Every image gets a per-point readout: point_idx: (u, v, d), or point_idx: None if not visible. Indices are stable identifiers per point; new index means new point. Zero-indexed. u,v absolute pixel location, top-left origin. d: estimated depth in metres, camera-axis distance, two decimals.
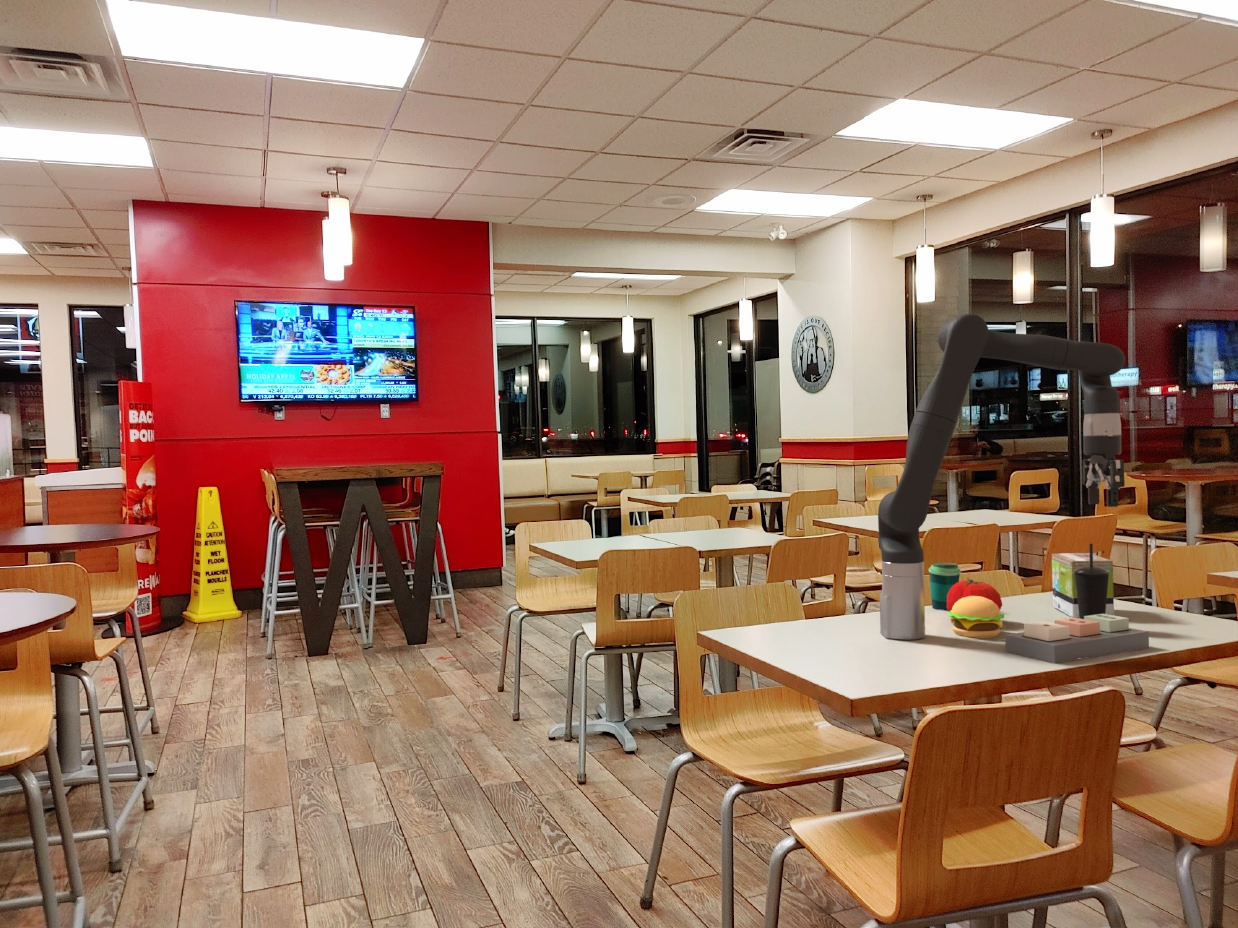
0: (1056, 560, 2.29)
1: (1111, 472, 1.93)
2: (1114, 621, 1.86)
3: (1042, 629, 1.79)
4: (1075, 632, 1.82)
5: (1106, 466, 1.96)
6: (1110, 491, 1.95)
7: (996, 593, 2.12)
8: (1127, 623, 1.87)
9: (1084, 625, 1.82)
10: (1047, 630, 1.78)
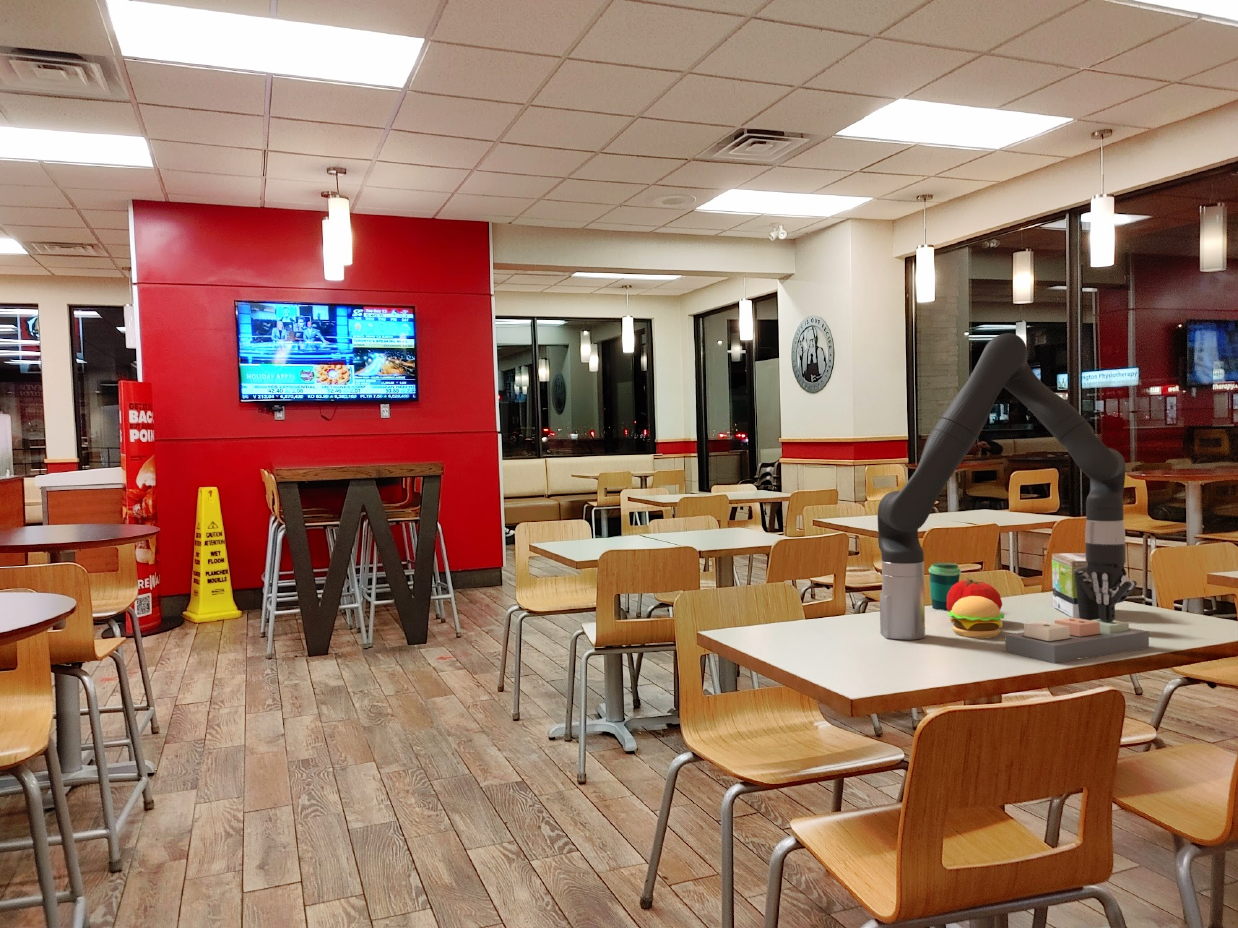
0: (1056, 560, 2.29)
1: None
2: (1114, 626, 1.86)
3: (1042, 629, 1.79)
4: (1075, 632, 1.82)
5: None
6: None
7: (996, 593, 2.12)
8: (1127, 628, 1.87)
9: (1084, 625, 1.82)
10: (1047, 630, 1.78)
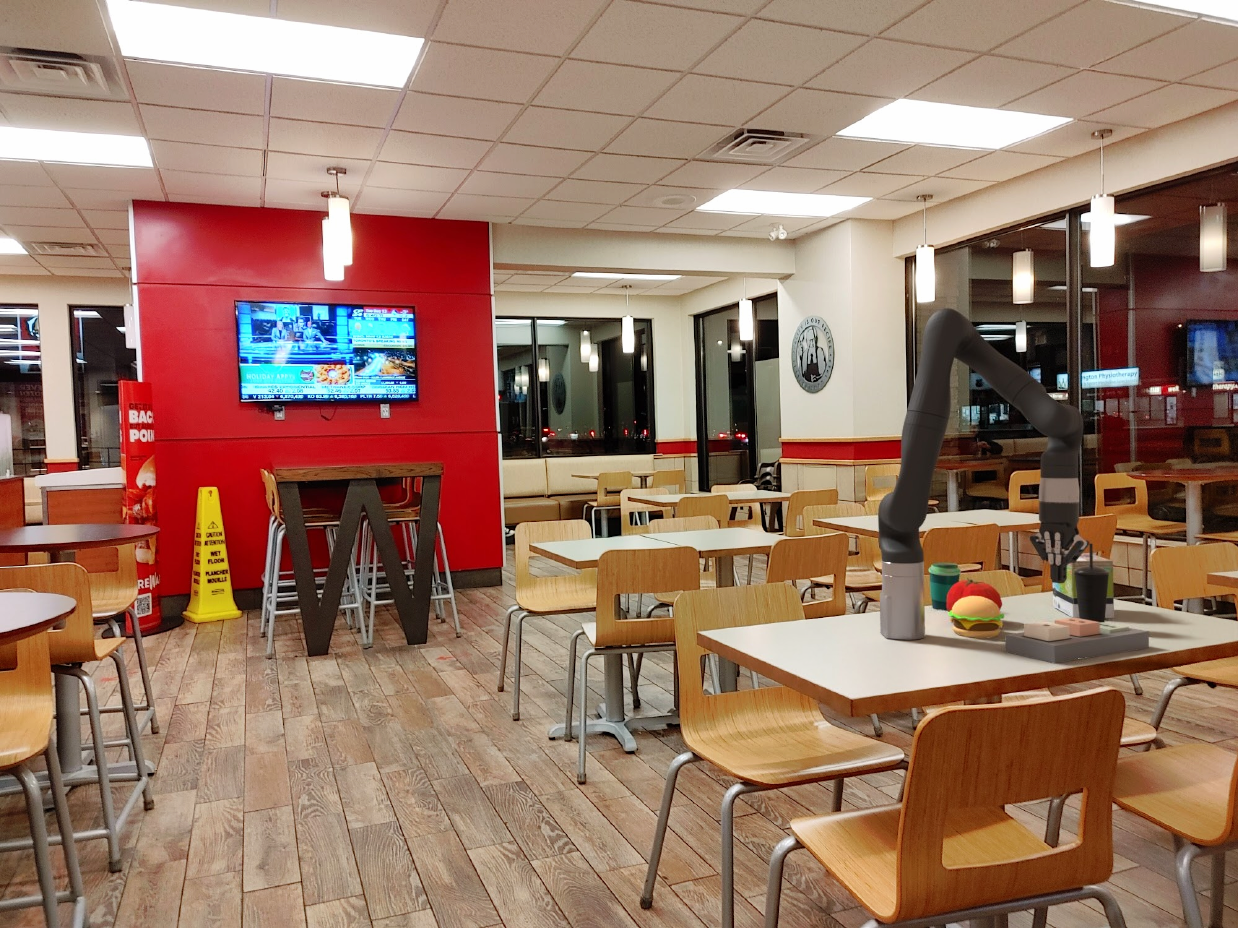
0: None
1: None
2: (1114, 630, 1.86)
3: (1042, 629, 1.79)
4: (1075, 632, 1.82)
5: None
6: None
7: (996, 593, 2.12)
8: None
9: (1084, 625, 1.82)
10: (1047, 630, 1.78)
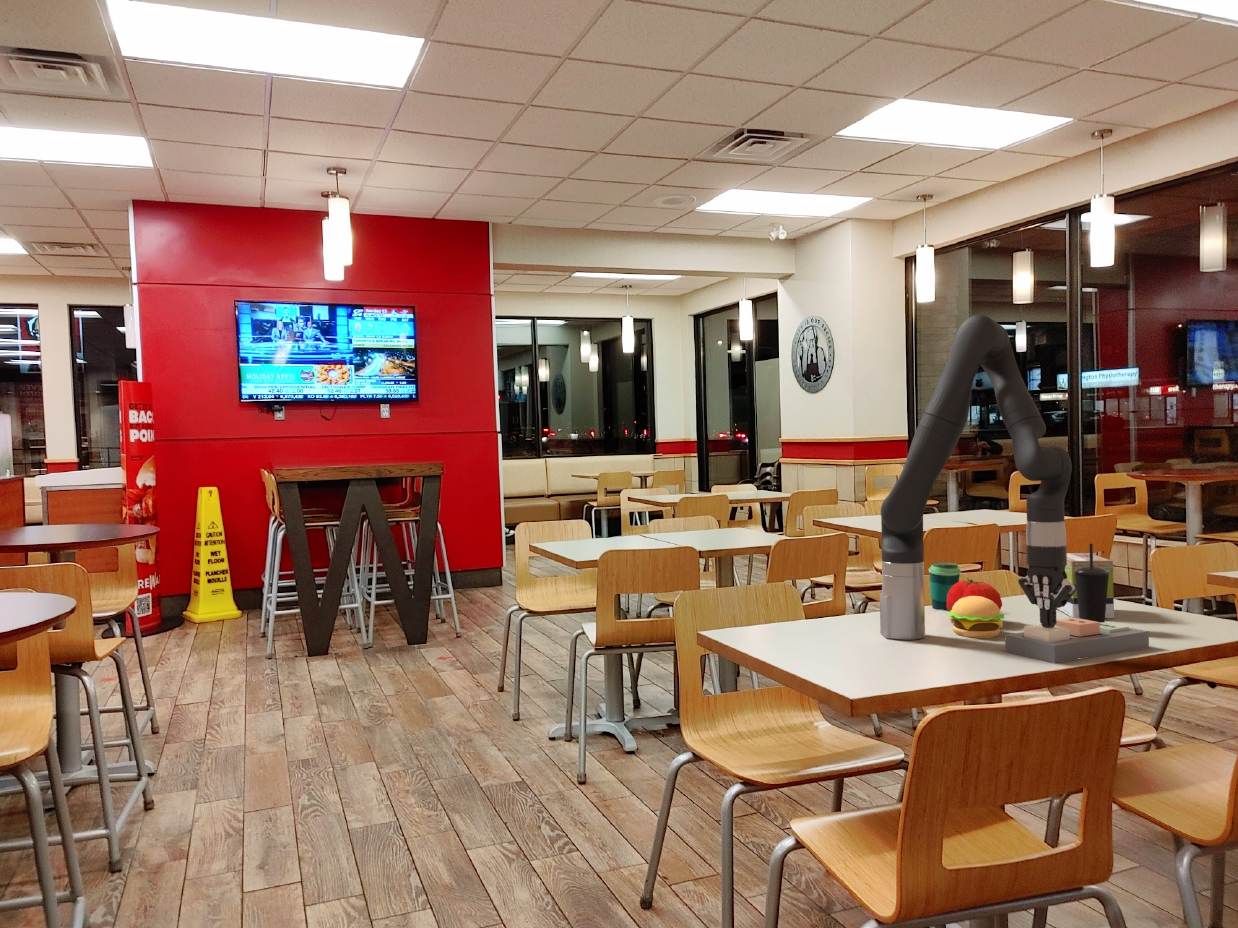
0: None
1: None
2: (1114, 630, 1.86)
3: (1042, 631, 1.79)
4: (1075, 632, 1.82)
5: None
6: None
7: (996, 593, 2.12)
8: None
9: (1084, 625, 1.82)
10: (1047, 632, 1.78)
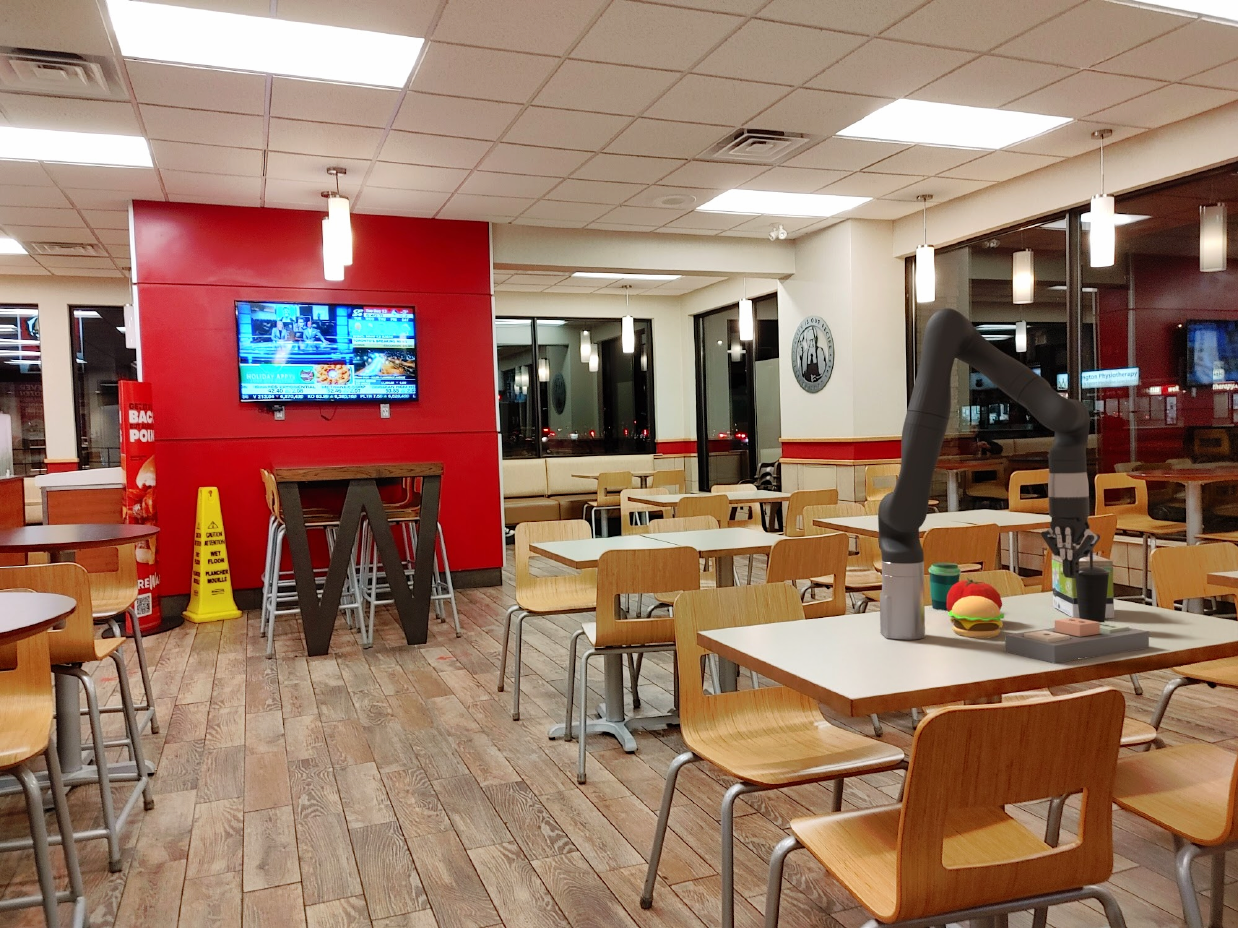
0: (1056, 560, 2.29)
1: None
2: (1114, 630, 1.86)
3: (1042, 638, 1.79)
4: (1075, 632, 1.82)
5: None
6: None
7: (996, 593, 2.12)
8: None
9: (1084, 625, 1.82)
10: (1047, 639, 1.78)
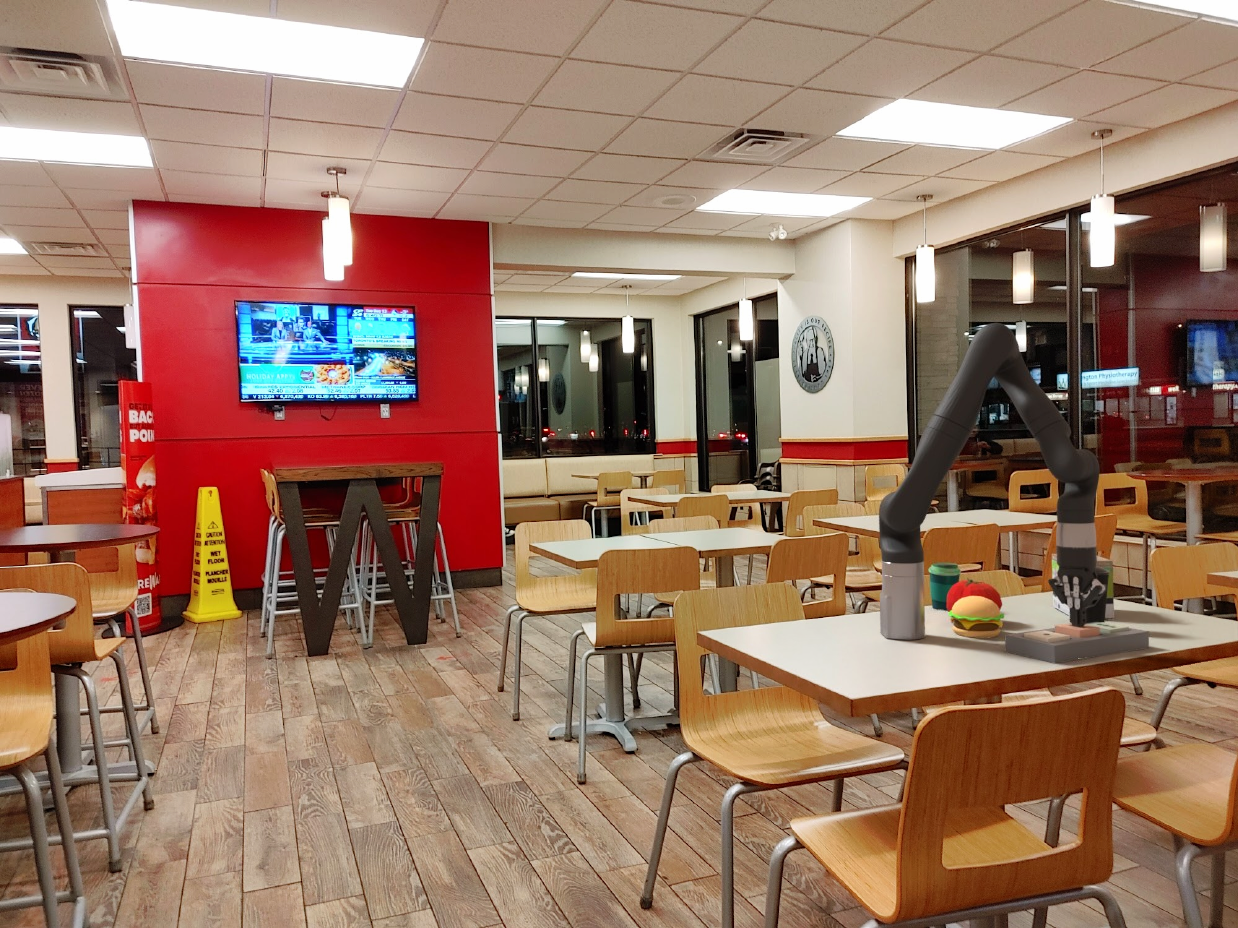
0: (1056, 560, 2.29)
1: None
2: (1114, 630, 1.86)
3: (1042, 638, 1.79)
4: None
5: None
6: None
7: (996, 593, 2.12)
8: None
9: (1084, 630, 1.82)
10: (1047, 639, 1.78)
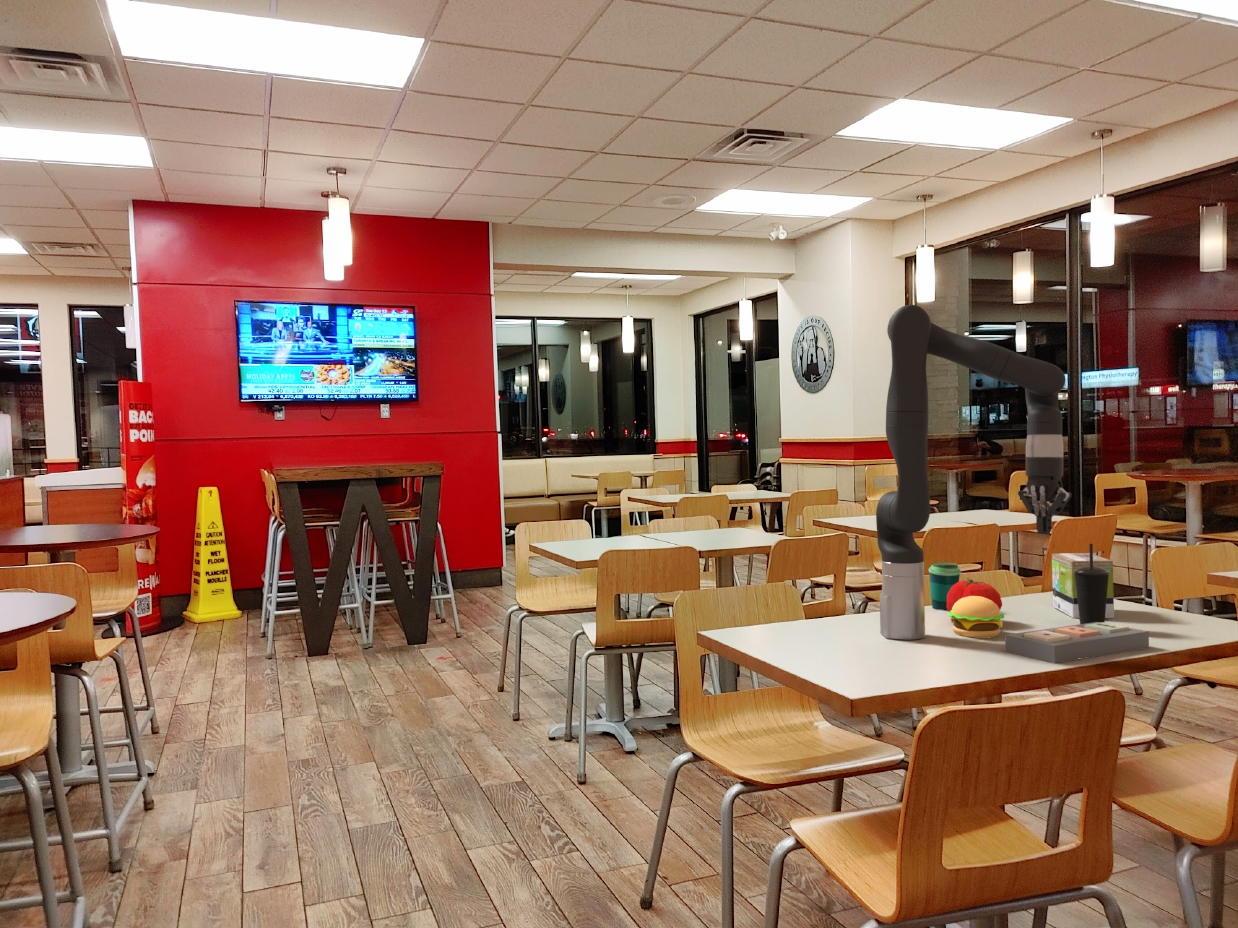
0: (1056, 560, 2.29)
1: None
2: (1114, 630, 1.86)
3: (1042, 638, 1.79)
4: None
5: None
6: None
7: (996, 593, 2.12)
8: None
9: (1084, 634, 1.82)
10: (1047, 639, 1.78)
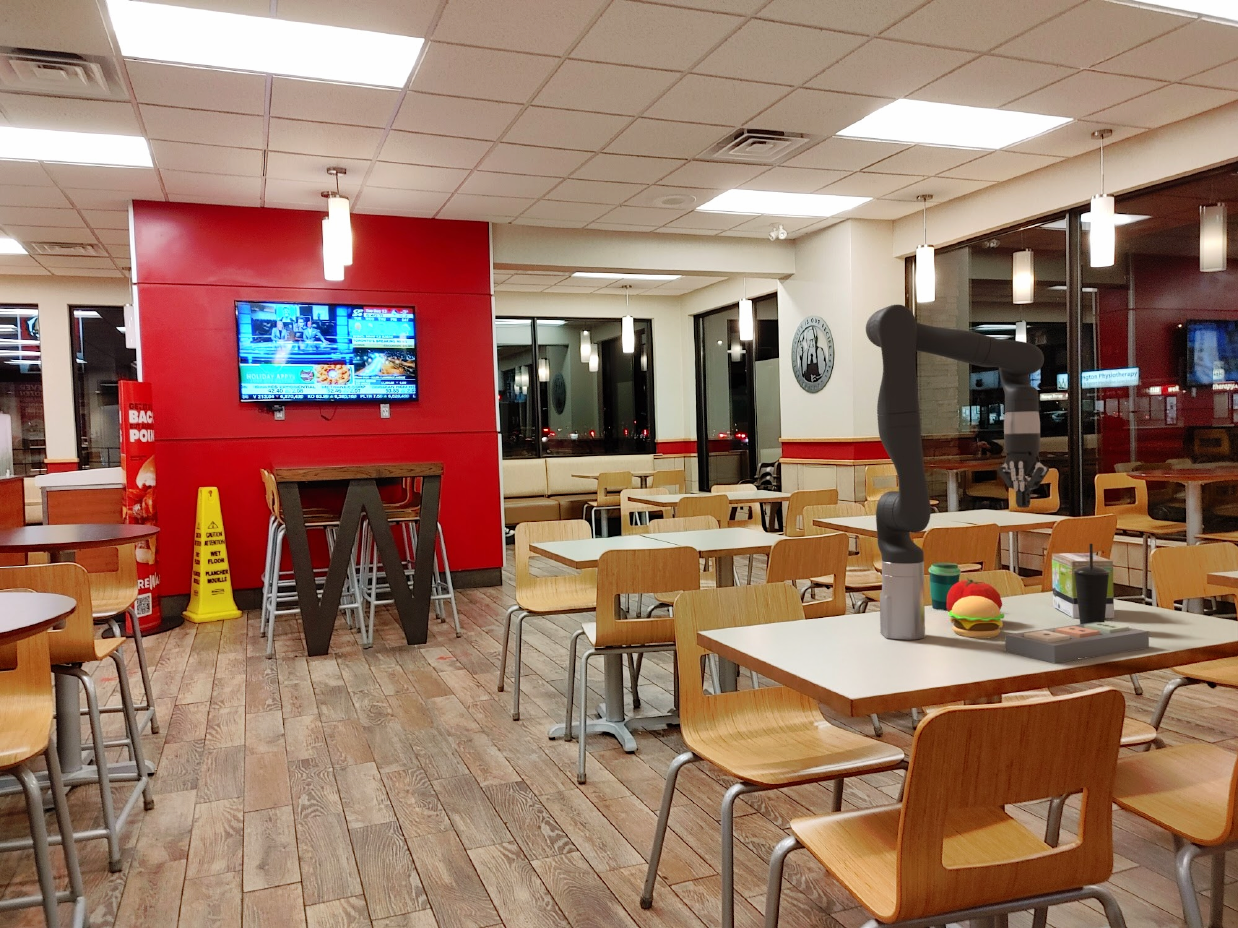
0: (1056, 560, 2.29)
1: None
2: (1114, 630, 1.86)
3: (1042, 638, 1.79)
4: None
5: None
6: None
7: (996, 593, 2.12)
8: None
9: (1084, 634, 1.82)
10: (1047, 639, 1.78)
